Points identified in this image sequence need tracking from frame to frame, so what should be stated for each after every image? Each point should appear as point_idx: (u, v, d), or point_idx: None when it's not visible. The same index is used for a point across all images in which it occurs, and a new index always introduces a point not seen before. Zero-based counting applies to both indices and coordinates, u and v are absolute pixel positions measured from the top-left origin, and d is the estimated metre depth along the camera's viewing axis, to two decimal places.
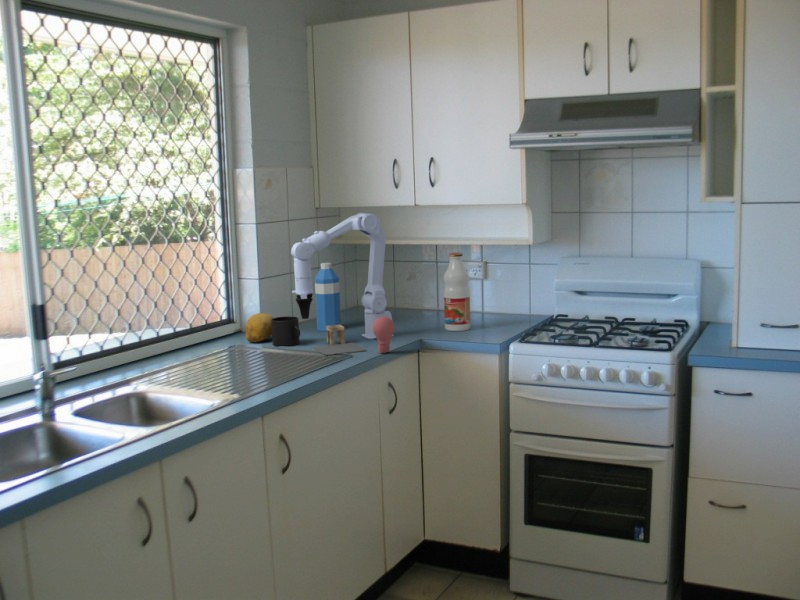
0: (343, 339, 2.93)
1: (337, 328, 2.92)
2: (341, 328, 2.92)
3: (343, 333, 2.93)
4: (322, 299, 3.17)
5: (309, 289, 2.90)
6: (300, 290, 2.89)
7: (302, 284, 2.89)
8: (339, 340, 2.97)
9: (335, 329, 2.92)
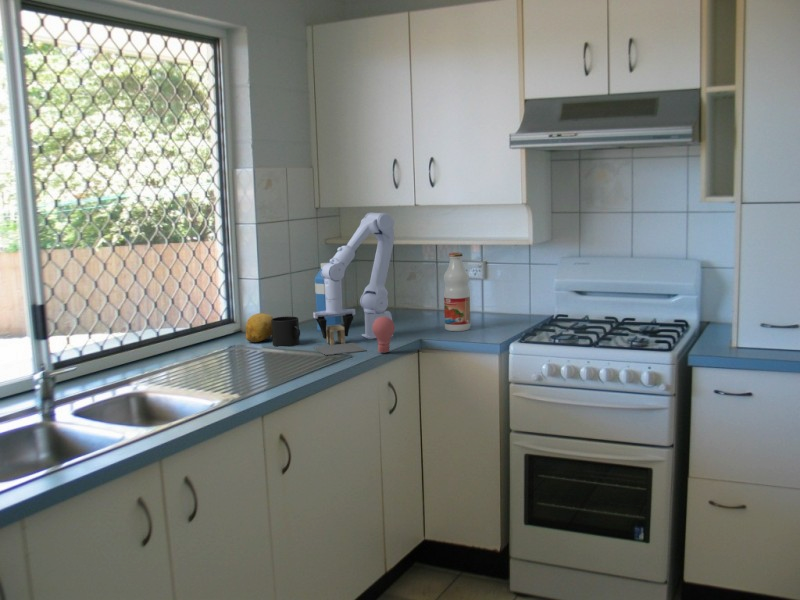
0: (343, 339, 2.93)
1: (337, 328, 2.92)
2: (341, 328, 2.92)
3: (343, 333, 2.93)
4: (322, 299, 3.17)
5: (330, 310, 2.91)
6: (326, 310, 2.93)
7: None
8: (339, 340, 2.97)
9: (335, 329, 2.92)
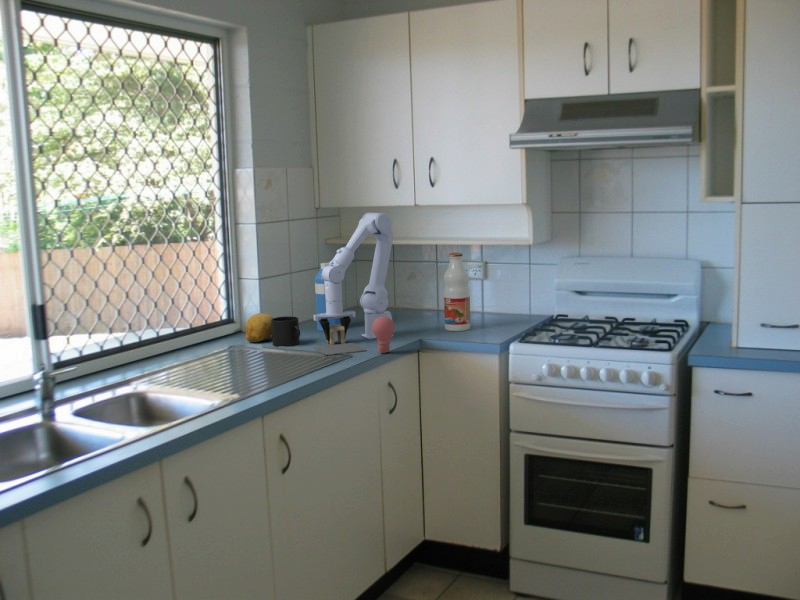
0: (343, 339, 2.93)
1: (337, 328, 2.92)
2: (341, 328, 2.92)
3: (343, 333, 2.93)
4: (322, 299, 3.17)
5: (330, 313, 2.91)
6: (326, 312, 2.93)
7: (326, 306, 2.92)
8: (339, 340, 2.97)
9: (335, 329, 2.92)
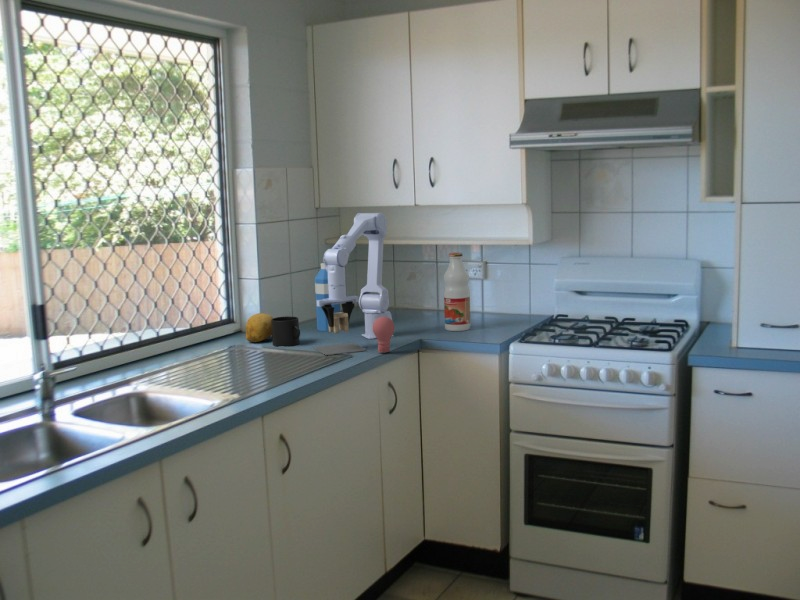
0: (346, 326, 2.82)
1: (341, 315, 2.81)
2: (345, 315, 2.81)
3: (347, 320, 2.82)
4: None
5: (334, 298, 2.79)
6: None
7: (329, 291, 2.80)
8: (341, 328, 2.85)
9: (339, 316, 2.80)
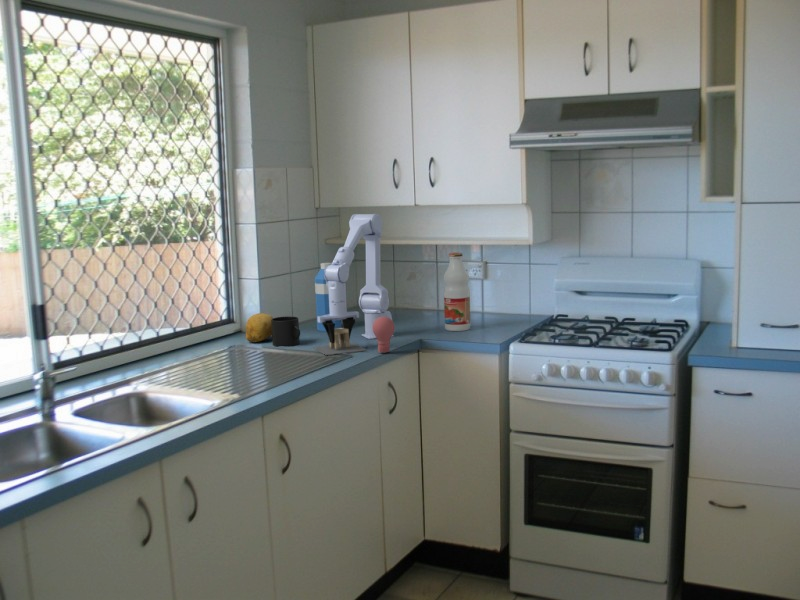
0: (347, 342, 2.83)
1: (341, 331, 2.82)
2: (345, 331, 2.82)
3: (347, 336, 2.83)
4: (322, 299, 3.17)
5: (335, 314, 2.80)
6: None
7: (329, 307, 2.81)
8: (342, 344, 2.86)
9: (340, 332, 2.81)
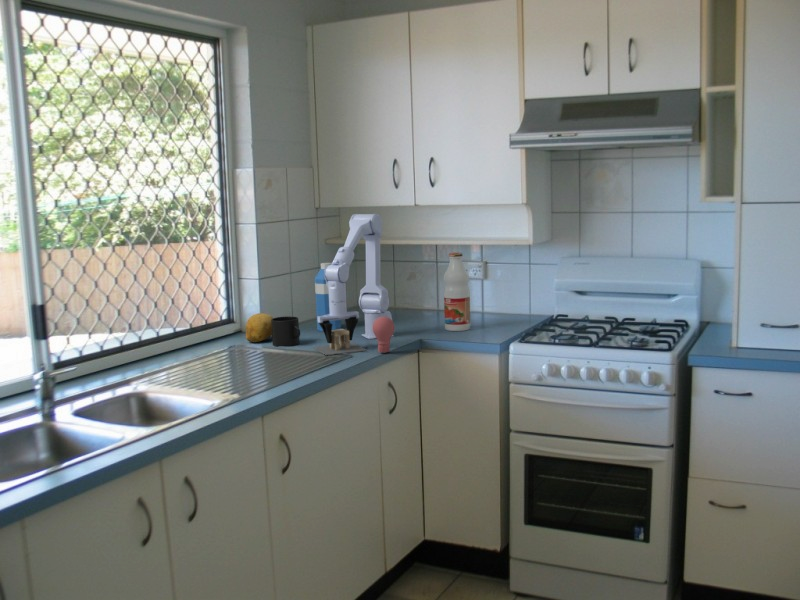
0: (347, 344, 2.83)
1: (342, 332, 2.81)
2: (346, 332, 2.82)
3: (348, 337, 2.83)
4: (322, 299, 3.17)
5: (335, 314, 2.80)
6: None
7: (329, 307, 2.81)
8: (342, 345, 2.86)
9: (340, 334, 2.81)
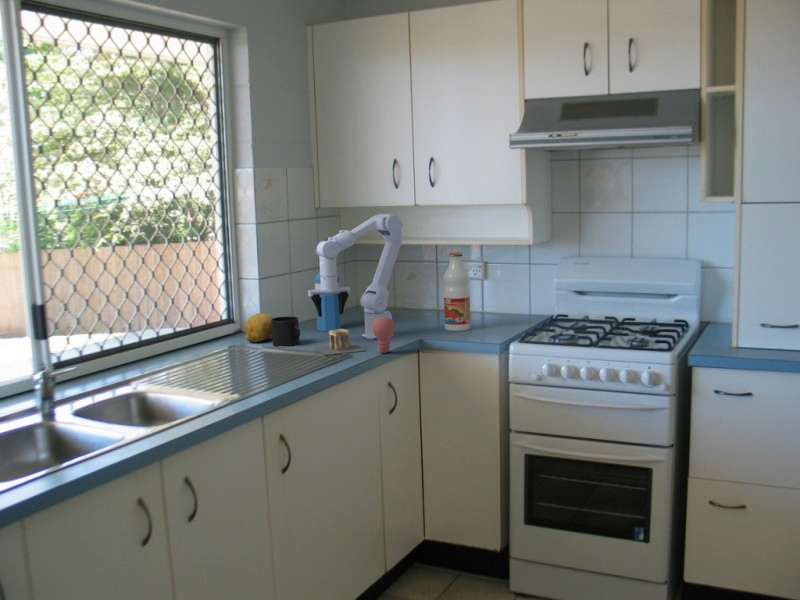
0: (347, 344, 2.83)
1: (342, 332, 2.81)
2: (346, 332, 2.82)
3: (348, 337, 2.83)
4: (322, 299, 3.17)
5: (325, 288, 2.90)
6: (321, 288, 2.93)
7: None
8: (342, 345, 2.86)
9: (340, 334, 2.81)
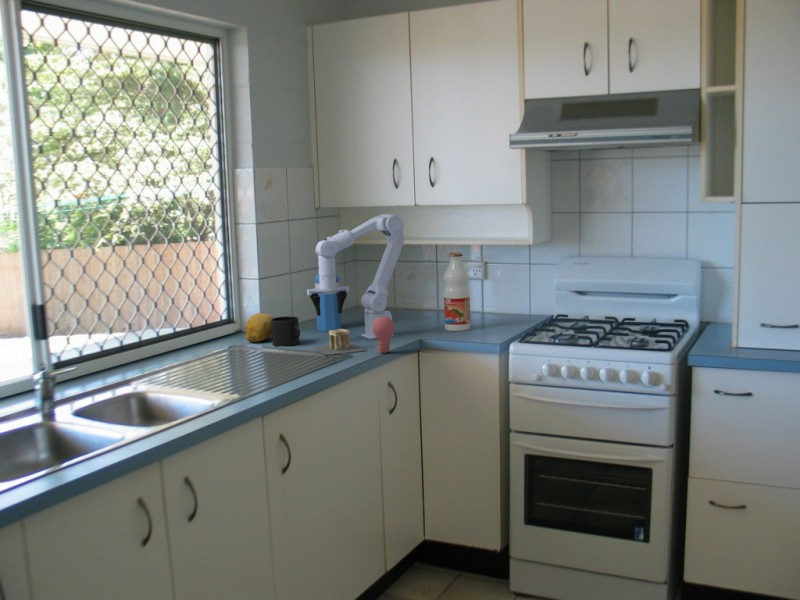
0: (347, 344, 2.83)
1: (342, 332, 2.81)
2: (346, 332, 2.82)
3: (348, 337, 2.83)
4: (322, 299, 3.17)
5: (323, 287, 2.92)
6: None
7: (319, 281, 2.93)
8: (342, 345, 2.86)
9: (340, 334, 2.81)
